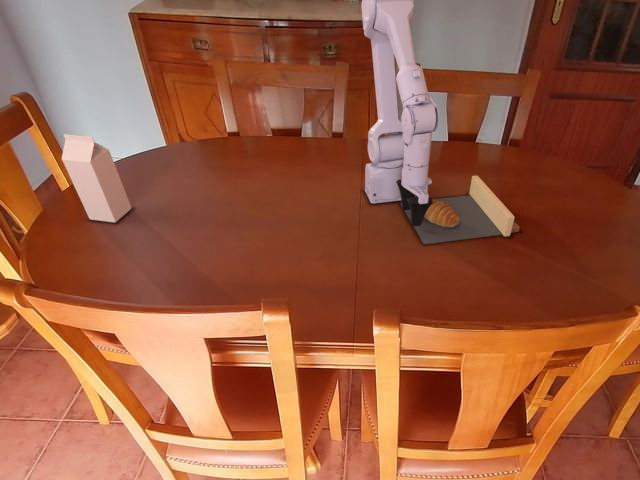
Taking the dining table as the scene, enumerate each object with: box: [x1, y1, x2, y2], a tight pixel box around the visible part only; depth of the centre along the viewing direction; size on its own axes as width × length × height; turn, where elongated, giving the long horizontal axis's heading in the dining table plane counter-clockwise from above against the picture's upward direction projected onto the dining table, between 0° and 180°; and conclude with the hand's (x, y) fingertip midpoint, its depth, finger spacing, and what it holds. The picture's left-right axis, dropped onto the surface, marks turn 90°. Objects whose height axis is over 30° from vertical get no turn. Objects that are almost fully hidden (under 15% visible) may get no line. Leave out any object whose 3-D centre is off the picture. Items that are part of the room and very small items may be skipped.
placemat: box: [399, 194, 503, 245], centre depth 116 cm, size 20×20×1 cm
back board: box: [468, 175, 521, 238], centre depth 116 cm, size 4×22×5 cm, turn 14°
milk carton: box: [61, 133, 132, 223], centre depth 109 cm, size 7×7×19 cm
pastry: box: [424, 200, 460, 227], centre depth 114 cm, size 9×7×4 cm
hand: (411, 217), depth 113 cm, fingers open, 7 cm apart
